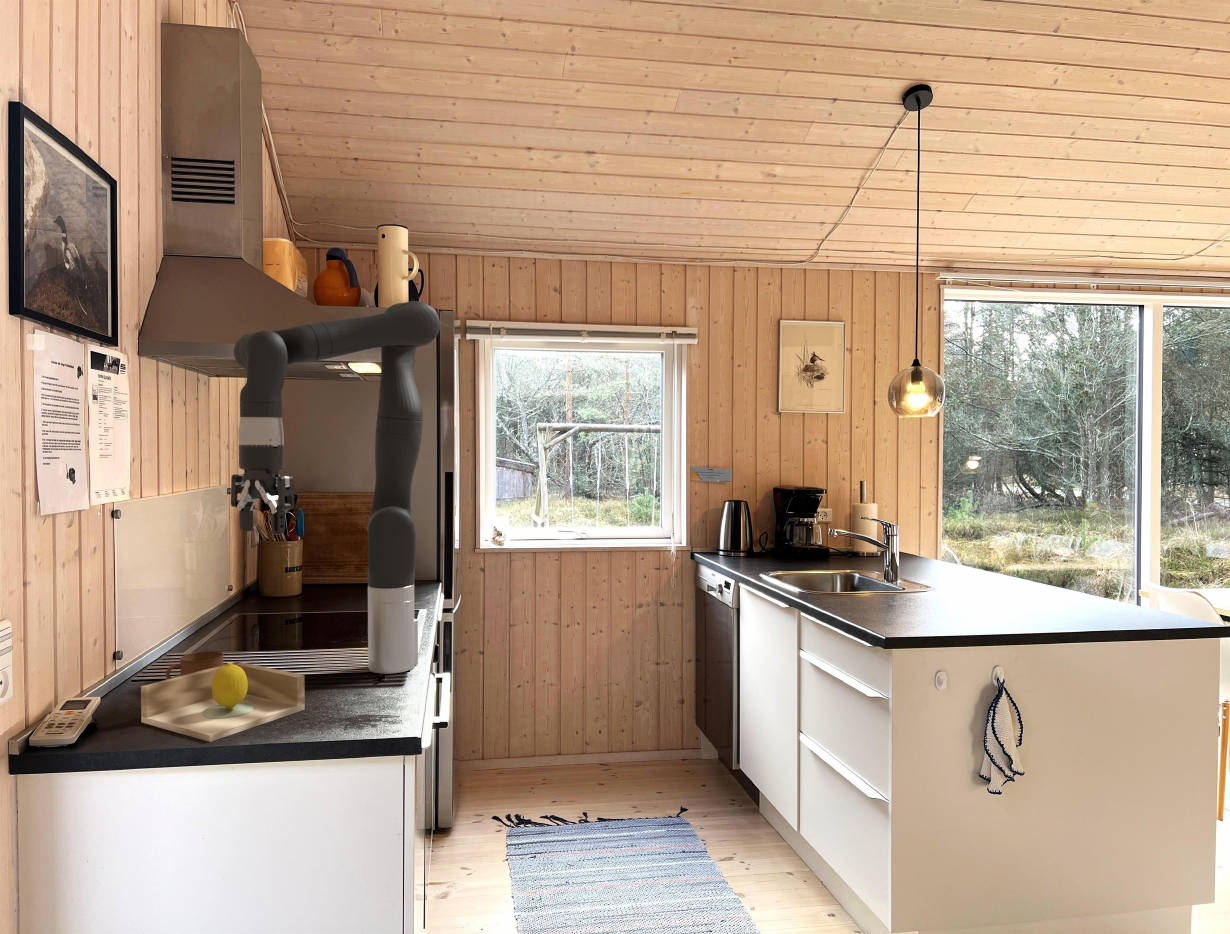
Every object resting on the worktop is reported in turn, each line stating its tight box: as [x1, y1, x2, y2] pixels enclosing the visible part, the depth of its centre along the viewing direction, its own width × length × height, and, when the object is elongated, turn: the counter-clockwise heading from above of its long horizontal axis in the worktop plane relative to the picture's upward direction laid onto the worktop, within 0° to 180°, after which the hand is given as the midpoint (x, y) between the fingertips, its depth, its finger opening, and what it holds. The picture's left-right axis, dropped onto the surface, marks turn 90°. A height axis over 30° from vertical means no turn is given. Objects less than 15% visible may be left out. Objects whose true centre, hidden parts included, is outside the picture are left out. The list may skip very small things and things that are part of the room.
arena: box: [140, 661, 306, 742], centre depth 142 cm, size 18×18×6 cm
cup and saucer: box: [165, 650, 224, 680], centre depth 158 cm, size 12×12×6 cm
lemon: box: [212, 662, 248, 710], centre depth 141 cm, size 6×6×8 cm
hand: (262, 532), depth 151 cm, fingers open, 8 cm apart
